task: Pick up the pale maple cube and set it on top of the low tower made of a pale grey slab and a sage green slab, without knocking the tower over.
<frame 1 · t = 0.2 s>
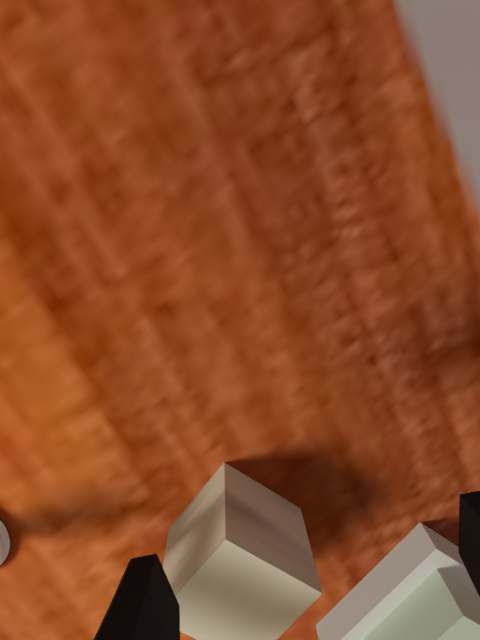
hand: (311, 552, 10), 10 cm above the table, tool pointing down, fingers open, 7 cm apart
tower top: (438, 637, 23), point 2 cm above the table, touching tower base
tower base: (416, 597, 25), on the table, touching tower top
maple cube: (234, 517, 22), on the table
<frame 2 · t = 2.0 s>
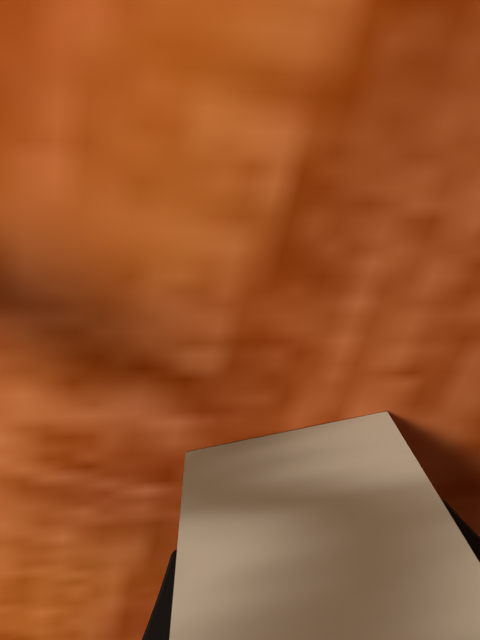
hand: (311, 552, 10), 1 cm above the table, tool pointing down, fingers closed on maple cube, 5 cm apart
maple cube: (300, 503, 11), on the table, touching gripper
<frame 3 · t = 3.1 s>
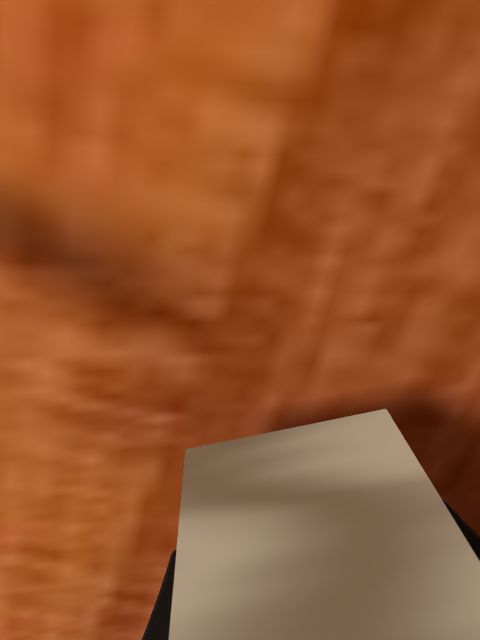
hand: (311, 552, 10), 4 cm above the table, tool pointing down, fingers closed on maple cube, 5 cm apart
maple cube: (299, 501, 11), point 3 cm above the table, touching gripper
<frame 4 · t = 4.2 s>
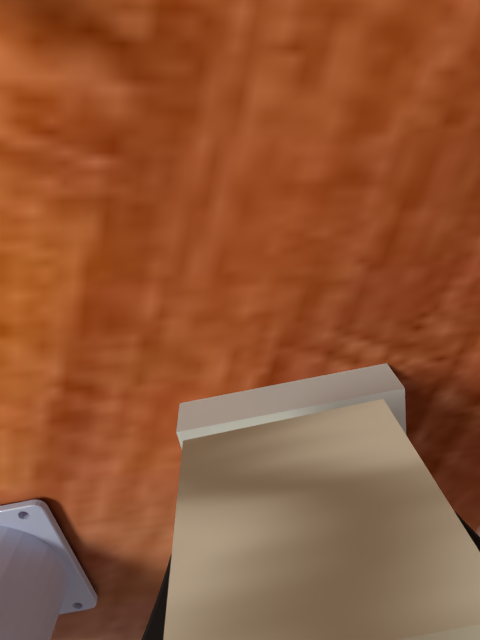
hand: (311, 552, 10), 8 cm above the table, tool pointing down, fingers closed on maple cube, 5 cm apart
tower base: (294, 452, 20), on the table, touching tower top
maple cube: (297, 492, 11), point 7 cm above the table, touching gripper
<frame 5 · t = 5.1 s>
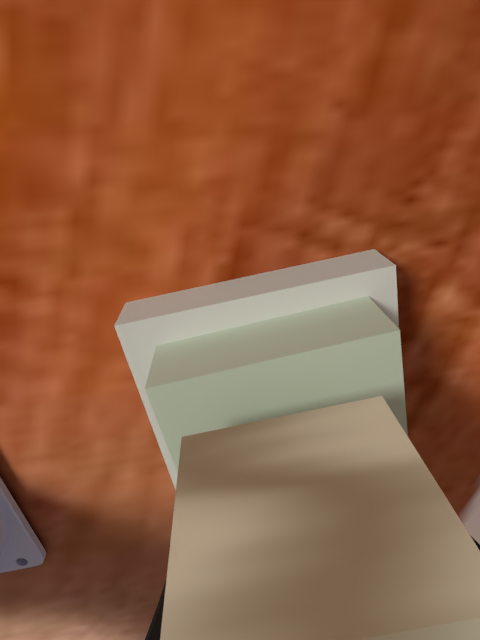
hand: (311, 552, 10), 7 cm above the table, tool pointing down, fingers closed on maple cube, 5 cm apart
tower top: (280, 407, 15), point 2 cm above the table, touching tower base
tower base: (268, 372, 17), on the table, touching tower top
maple cube: (296, 489, 11), point 6 cm above the table, touching gripper
when the fingers open (7 cm above the table, at t = 5.5 s): maple cube drops 1 cm, resting on tower top.
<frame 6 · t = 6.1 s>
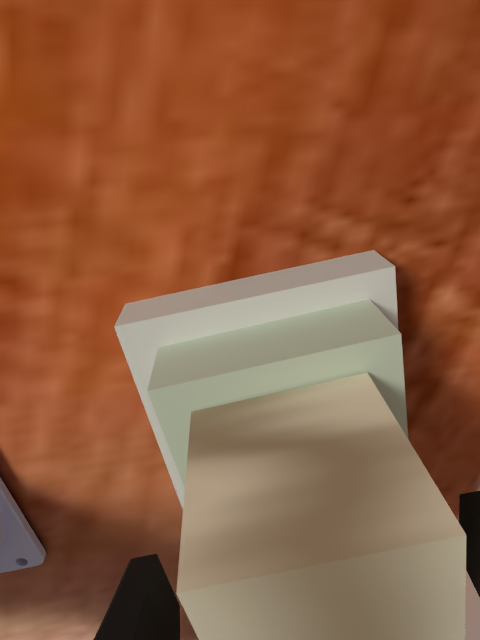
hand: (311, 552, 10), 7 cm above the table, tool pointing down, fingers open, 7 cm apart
tower top: (281, 409, 15), point 2 cm above the table, touching maple cube, tower base
tower base: (268, 373, 17), on the table, touching tower top
maple cube: (293, 458, 13), point 4 cm above the table, touching tower top
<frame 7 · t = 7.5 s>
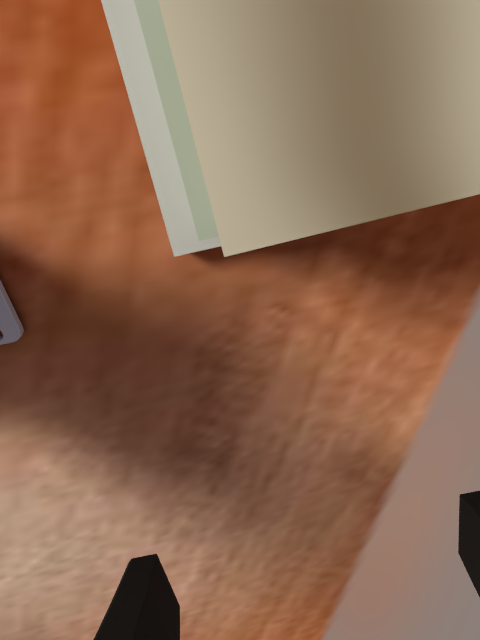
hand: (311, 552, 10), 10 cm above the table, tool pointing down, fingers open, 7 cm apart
tower top: (277, 95, 14), point 2 cm above the table, touching maple cube, tower base
tower base: (262, 101, 16), on the table, touching tower top
maple cube: (284, 101, 12), point 4 cm above the table, touching tower top
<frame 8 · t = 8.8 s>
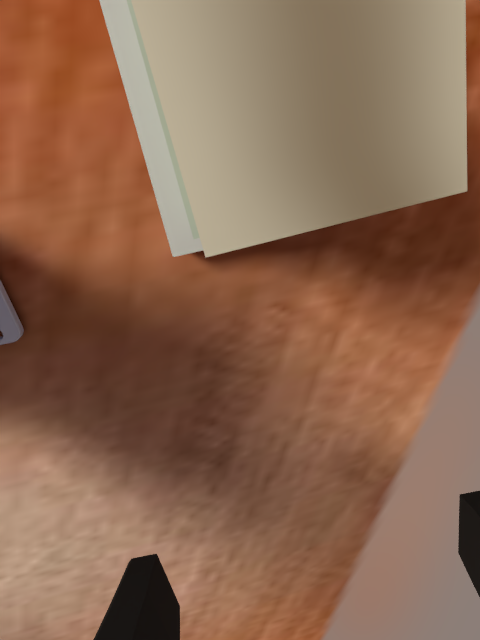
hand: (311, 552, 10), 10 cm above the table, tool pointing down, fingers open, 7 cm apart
tower top: (273, 90, 13), point 2 cm above the table, touching maple cube, tower base
tower base: (262, 100, 16), on the table, touching tower top
maple cube: (273, 96, 11), point 4 cm above the table, touching tower top
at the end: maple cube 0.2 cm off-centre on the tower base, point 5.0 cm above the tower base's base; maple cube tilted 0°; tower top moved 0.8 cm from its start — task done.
